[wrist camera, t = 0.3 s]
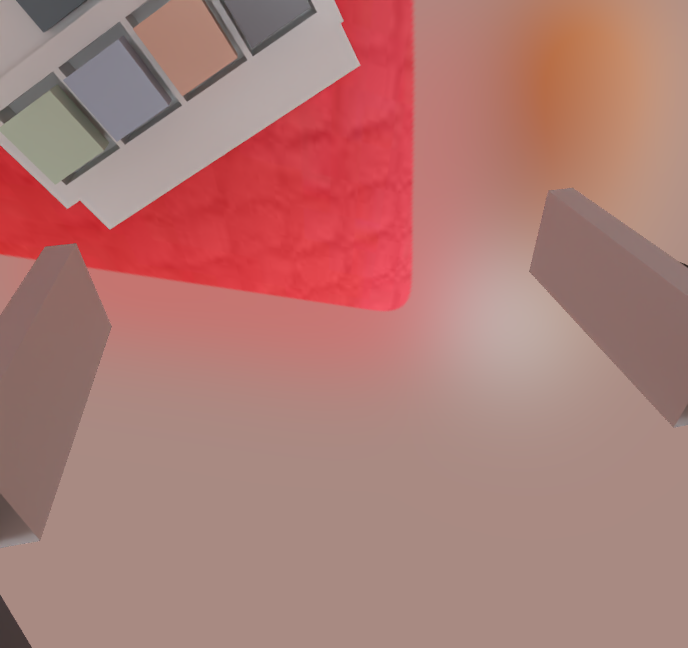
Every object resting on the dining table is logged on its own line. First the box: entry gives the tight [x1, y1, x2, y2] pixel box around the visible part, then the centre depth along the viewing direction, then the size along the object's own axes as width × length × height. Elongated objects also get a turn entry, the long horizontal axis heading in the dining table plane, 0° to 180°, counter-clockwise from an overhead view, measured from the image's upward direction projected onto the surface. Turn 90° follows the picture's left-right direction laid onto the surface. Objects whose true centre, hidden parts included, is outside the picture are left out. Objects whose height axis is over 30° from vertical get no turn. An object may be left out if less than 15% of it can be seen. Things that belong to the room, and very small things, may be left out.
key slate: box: [63, 35, 172, 142], centre depth 29 cm, size 4×4×2 cm
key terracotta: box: [133, 0, 238, 96], centre depth 28 cm, size 4×4×2 cm
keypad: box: [0, 0, 360, 230], centre depth 30 cm, size 14×22×3 cm, turn 119°
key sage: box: [0, 84, 109, 185], centre depth 30 cm, size 4×4×2 cm
